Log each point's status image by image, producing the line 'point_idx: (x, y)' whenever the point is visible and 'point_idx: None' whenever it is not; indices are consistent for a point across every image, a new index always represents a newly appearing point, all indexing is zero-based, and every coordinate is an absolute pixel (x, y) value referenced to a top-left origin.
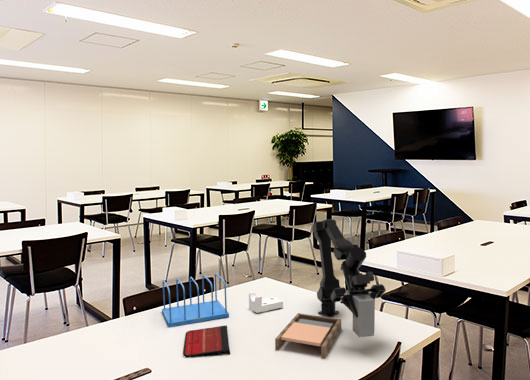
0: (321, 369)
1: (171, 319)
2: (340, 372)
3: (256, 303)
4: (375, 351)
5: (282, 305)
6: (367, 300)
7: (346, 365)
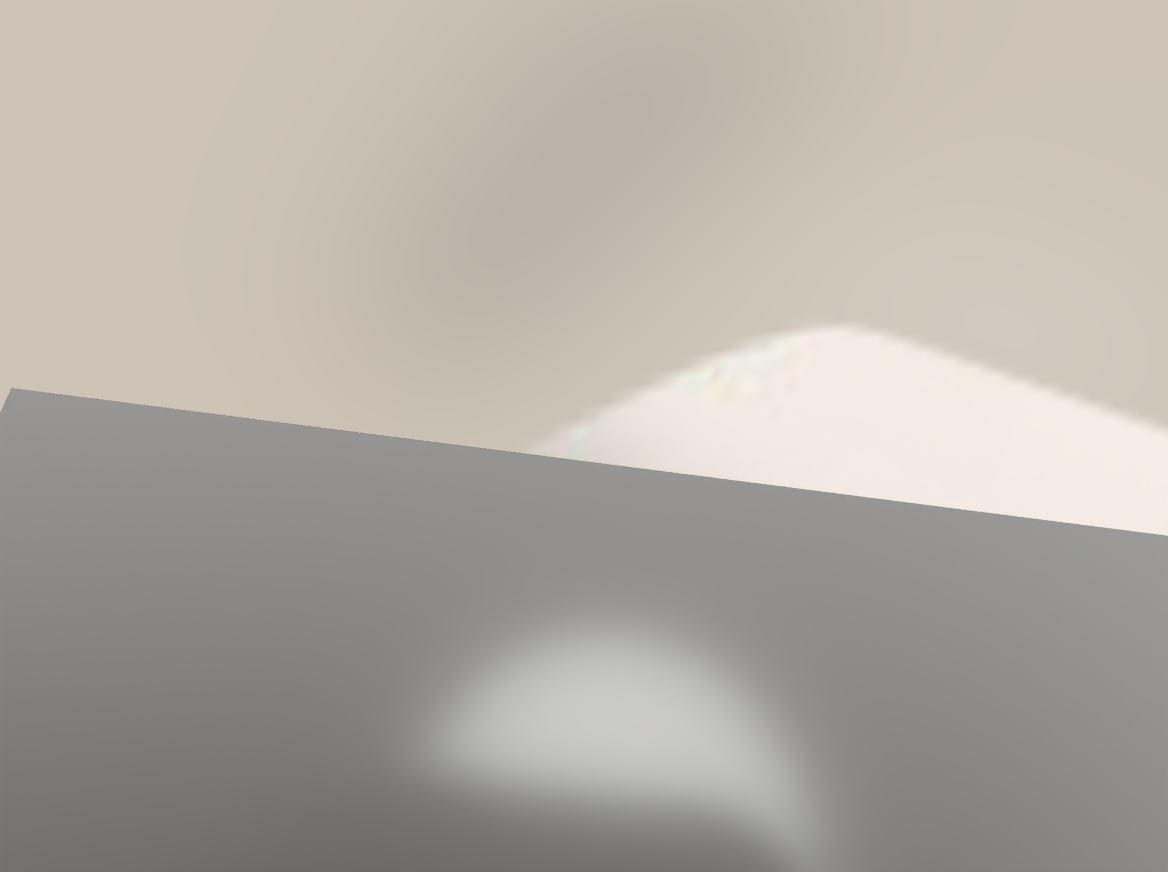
0: (1130, 513)
1: None
2: (974, 409)
3: None
4: None
5: None
6: (629, 523)
7: (879, 495)
